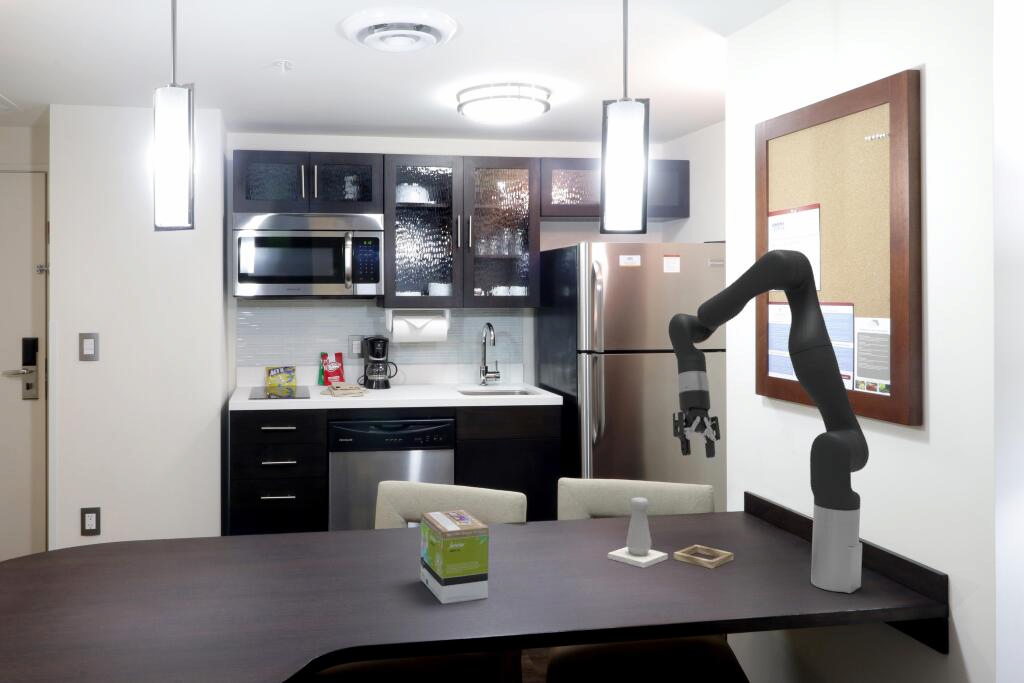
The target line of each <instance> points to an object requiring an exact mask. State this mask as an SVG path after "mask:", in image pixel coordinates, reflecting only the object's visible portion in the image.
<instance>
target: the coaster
mask: <svg viewBox="0 0 1024 683" xmlns="http://www.w3.org/2000/svg"><path fill="white" fill-rule="evenodd" d="M607 559H609V560H613V561H616V562H621V563H624V564H628V565H631V566H635V567H640V568H642V569H646V568H647V567H650V566H652V565H656V564H657V563H661V562H664V561H666V560H668V559H669V554H668V553H666V552H662V551H659V550H654V549H651V548H650V549H649V551H648V553H647V555H644V556H636V555H632V554H630V553H629V550H628V547H627V546H624V547H623V548H619V549H616V550H613V551H610V552H608V553H607Z"/></svg>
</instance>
